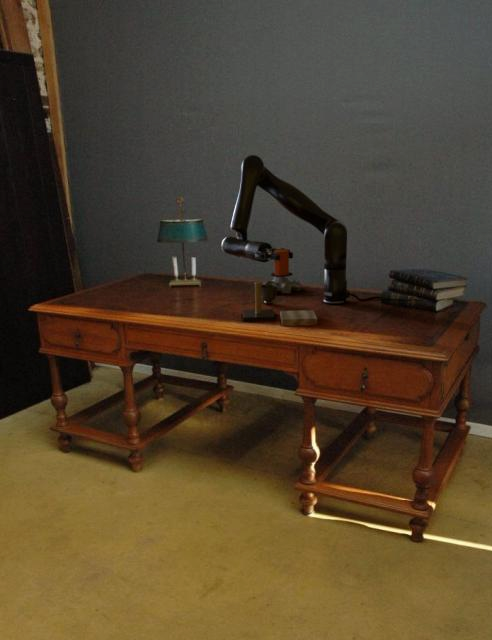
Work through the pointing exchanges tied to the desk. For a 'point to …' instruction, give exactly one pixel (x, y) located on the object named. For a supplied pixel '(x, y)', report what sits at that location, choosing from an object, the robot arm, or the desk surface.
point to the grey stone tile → (298, 318)
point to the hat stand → (258, 309)
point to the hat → (281, 264)
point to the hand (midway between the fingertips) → (285, 256)
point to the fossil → (284, 285)
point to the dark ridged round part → (268, 293)
